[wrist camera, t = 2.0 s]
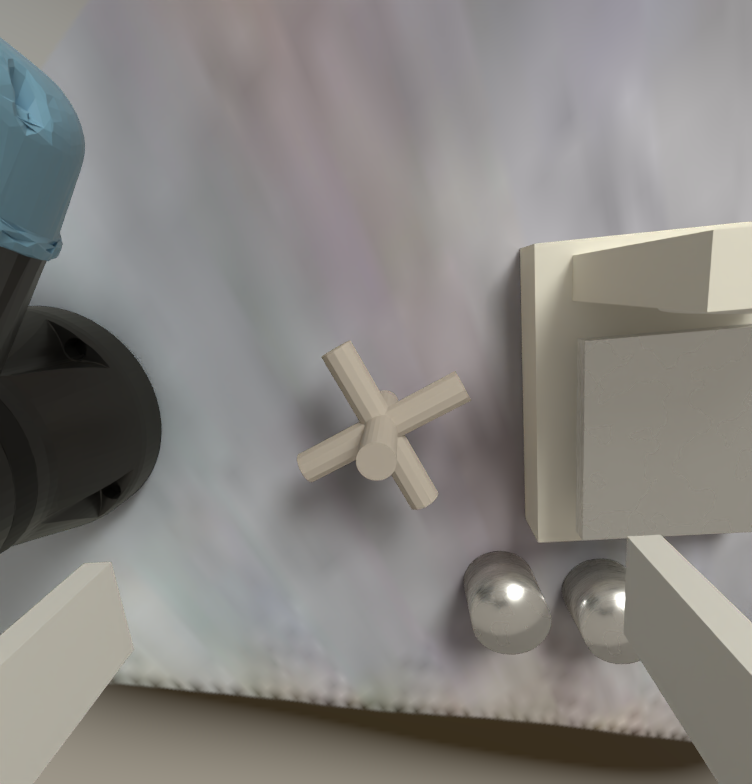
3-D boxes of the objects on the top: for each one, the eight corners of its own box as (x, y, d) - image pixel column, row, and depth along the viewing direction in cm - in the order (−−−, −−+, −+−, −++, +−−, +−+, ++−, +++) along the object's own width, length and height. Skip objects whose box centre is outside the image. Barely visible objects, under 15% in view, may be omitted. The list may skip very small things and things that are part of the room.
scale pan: (575, 530, 25) (582, 540, 24) (577, 338, 23) (585, 340, 22) (781, 519, 24) (796, 529, 23) (806, 318, 22) (825, 320, 21)
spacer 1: (465, 611, 33) (473, 655, 29) (461, 552, 32) (470, 589, 28) (533, 609, 32) (551, 653, 28) (532, 548, 31) (551, 586, 27)
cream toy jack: (486, 432, 29) (528, 504, 20) (358, 496, 31) (337, 592, 21) (415, 299, 28) (422, 305, 18) (282, 374, 29) (223, 418, 19)
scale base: (525, 518, 31) (623, 703, 17) (520, 248, 26) (643, 208, 13) (738, 506, 29) (1025, 695, 16) (766, 223, 25) (1187, 149, 12)
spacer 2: (561, 619, 32) (583, 665, 29) (561, 560, 31) (584, 598, 27) (632, 617, 32) (663, 662, 28) (634, 556, 31) (668, 595, 27)
